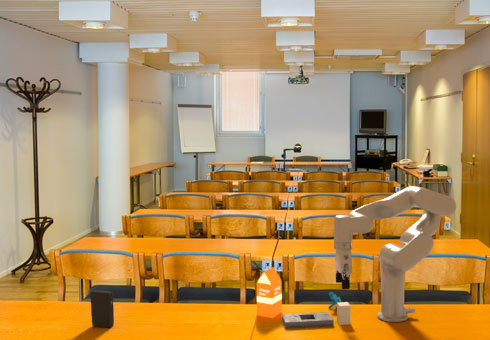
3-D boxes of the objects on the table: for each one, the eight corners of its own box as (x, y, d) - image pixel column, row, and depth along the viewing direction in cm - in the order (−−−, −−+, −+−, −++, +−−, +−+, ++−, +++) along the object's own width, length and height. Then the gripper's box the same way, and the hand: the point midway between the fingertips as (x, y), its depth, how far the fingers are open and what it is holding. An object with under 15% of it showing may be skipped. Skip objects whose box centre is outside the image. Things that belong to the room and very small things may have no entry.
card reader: (115, 325, 253) (114, 290, 251) (110, 328, 249) (108, 293, 248) (96, 323, 256) (95, 289, 254) (91, 326, 252) (89, 291, 251)
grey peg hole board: (328, 317, 257) (327, 311, 257) (333, 325, 248) (333, 319, 247) (281, 320, 256) (281, 314, 255) (285, 328, 246) (285, 322, 245)
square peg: (347, 320, 253) (347, 302, 253) (350, 324, 249) (350, 305, 248) (337, 321, 253) (336, 302, 252) (339, 324, 249) (339, 306, 248)
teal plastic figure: (344, 309, 262) (328, 292, 265) (334, 318, 263) (319, 301, 266) (349, 305, 272) (333, 288, 275) (339, 314, 274) (324, 297, 276)
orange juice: (282, 312, 266) (281, 267, 264) (272, 318, 258) (271, 272, 256) (266, 309, 270) (266, 265, 268) (256, 315, 263) (255, 270, 261)
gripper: (357, 249, 240) (357, 291, 241) (346, 240, 257) (345, 279, 258) (339, 249, 239) (338, 292, 240) (329, 240, 256) (328, 280, 258)
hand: (342, 285), depth 249 cm, fingers open, 9 cm apart
